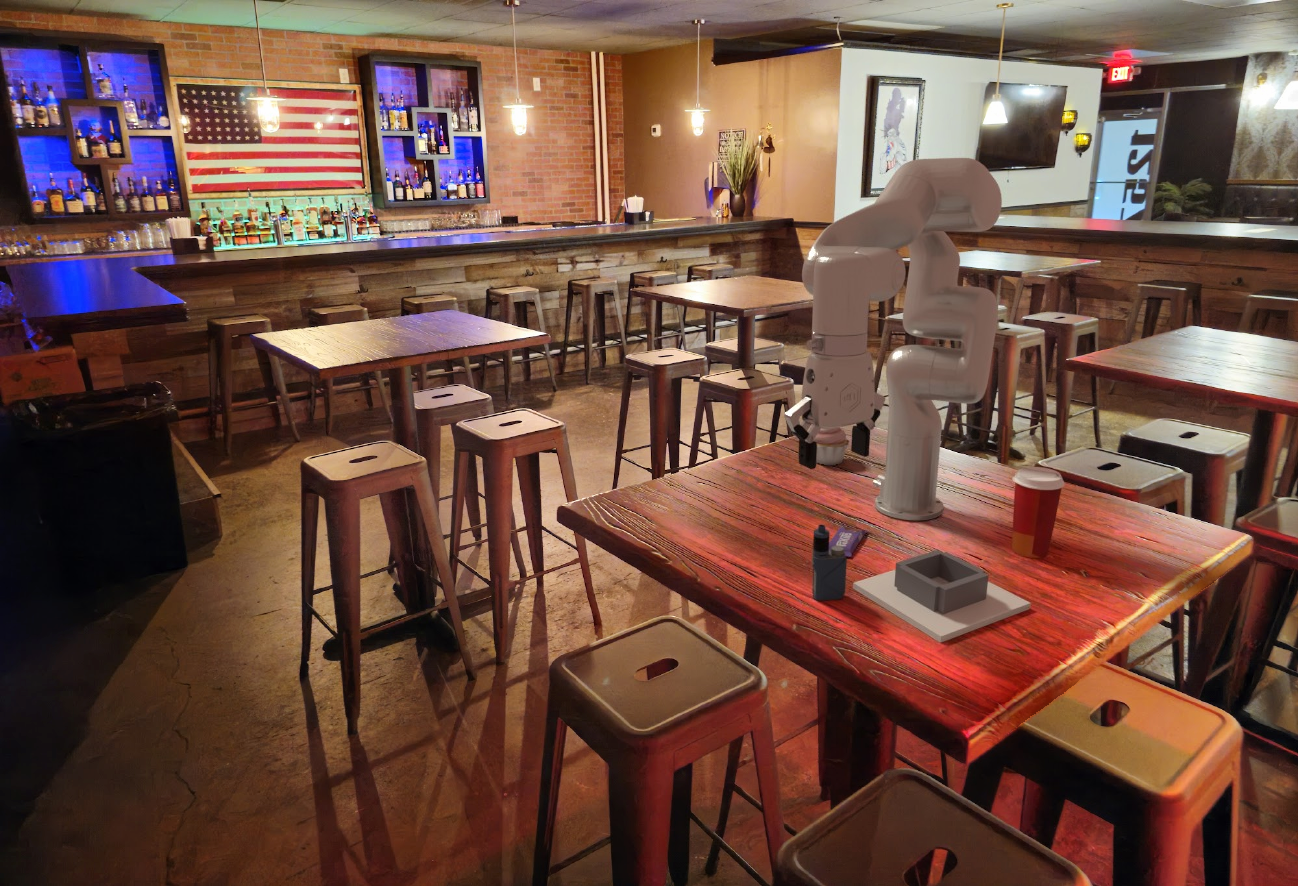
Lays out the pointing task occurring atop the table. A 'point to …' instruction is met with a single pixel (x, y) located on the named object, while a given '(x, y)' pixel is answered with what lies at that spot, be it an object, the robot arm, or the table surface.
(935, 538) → the table surface
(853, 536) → the snack package
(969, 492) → the table surface
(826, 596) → the vaping device
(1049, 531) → the paper cup
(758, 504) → the table surface
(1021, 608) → the dock
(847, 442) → the cupcake
